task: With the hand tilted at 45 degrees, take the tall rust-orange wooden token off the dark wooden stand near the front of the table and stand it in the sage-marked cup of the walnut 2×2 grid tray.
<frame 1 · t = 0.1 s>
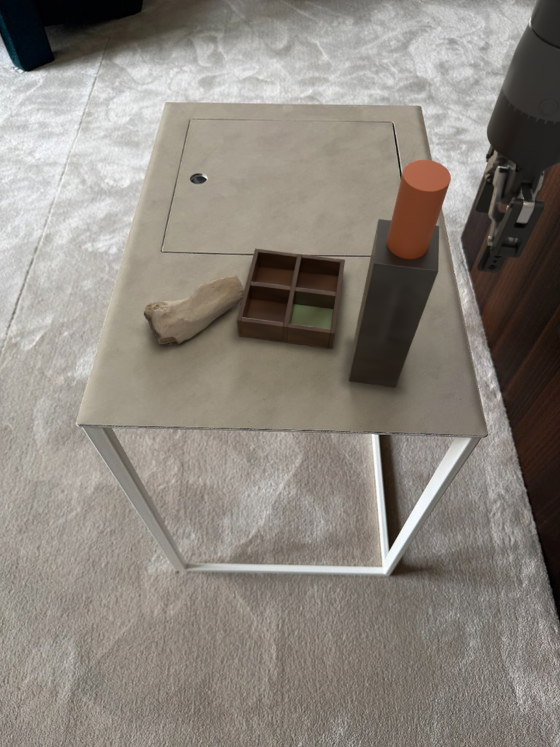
hand: (485, 238, 57), 19 cm above the table, tool pointing down, fingers open, 8 cm apart
grid: (292, 305, 76), on the table
bone fragment: (195, 316, 75), on the table
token: (407, 243, 52), point 22 cm above the table, touching stand
stand: (373, 364, 71), on the table
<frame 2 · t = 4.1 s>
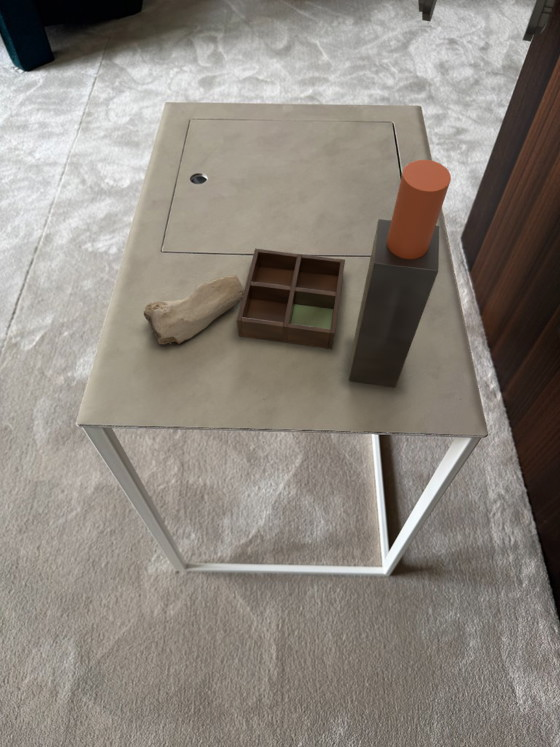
hand: (476, 27, 45), 36 cm above the table, tool tilted 45°, fingers open, 8 cm apart
nothing on the table moved.
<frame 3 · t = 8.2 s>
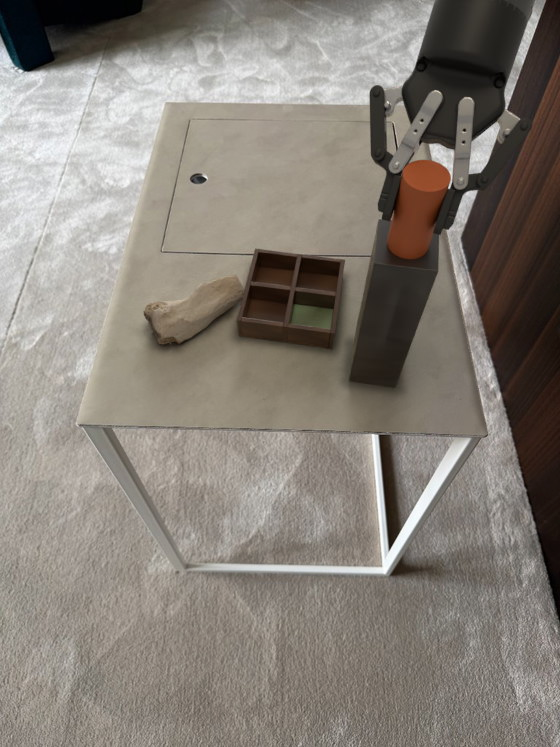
hand: (411, 226, 48), 26 cm above the table, tool tilted 45°, fingers closed on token, 4 cm apart
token: (407, 243, 52), point 22 cm above the table, touching gripper, stand
everything else where it was.
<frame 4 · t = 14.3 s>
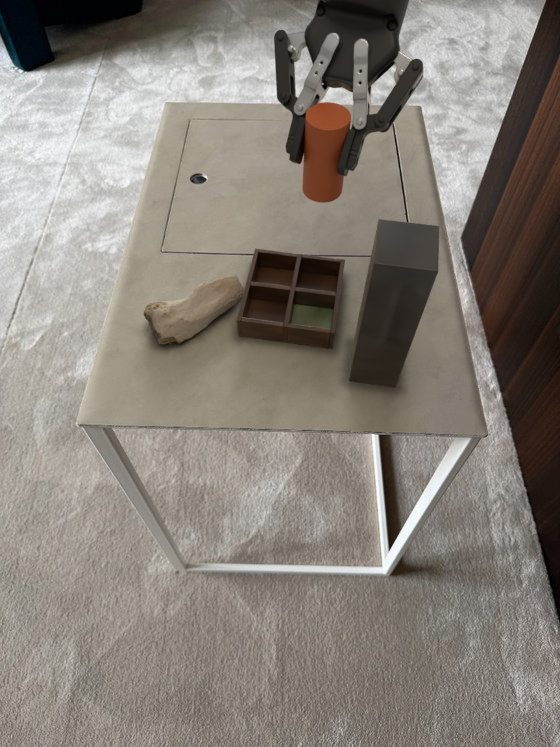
hand: (318, 167, 50), 27 cm above the table, tool tilted 45°, fingers closed on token, 4 cm apart
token: (322, 189, 55), point 23 cm above the table, touching gripper
everything else where it was.
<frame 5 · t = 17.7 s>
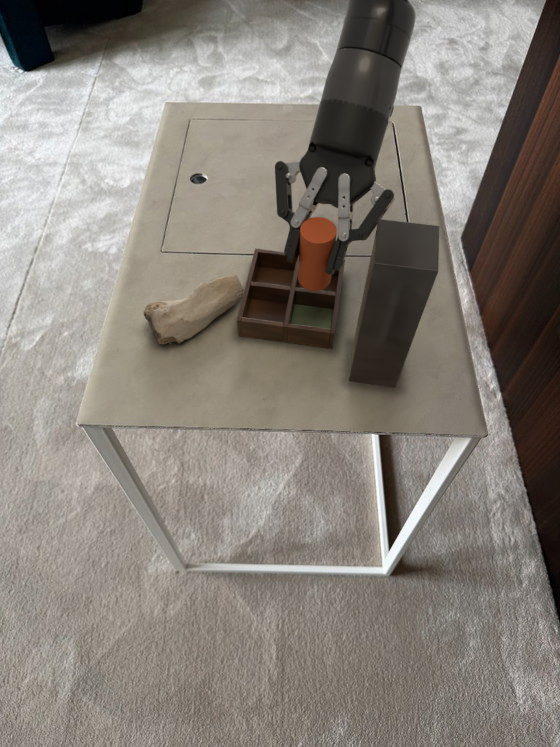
hand: (310, 267, 62), 14 cm above the table, tool tilted 45°, fingers closed on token, 4 cm apart
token: (314, 278, 66), point 10 cm above the table, touching gripper
everything else where it was.
when the fingers open (5 cm above the table, at t = 20.5 s): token stays where it is, resting on grid.
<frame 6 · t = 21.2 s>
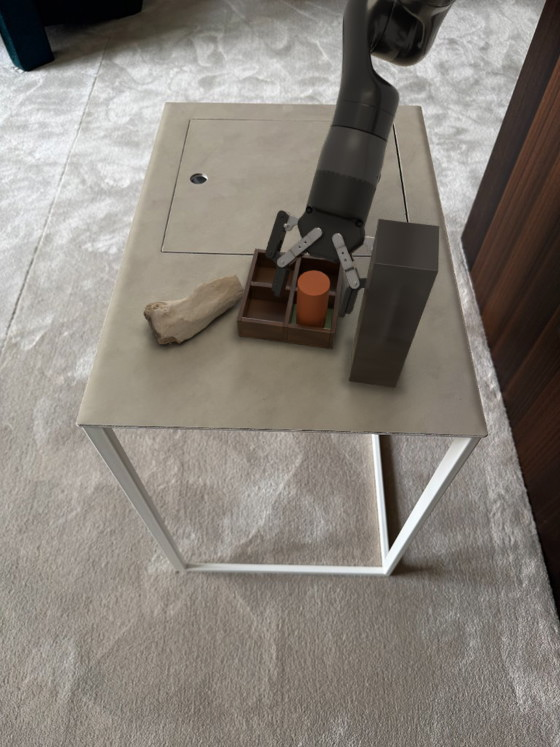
hand: (309, 306, 69), 6 cm above the table, tool tilted 45°, fingers open, 8 cm apart
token: (310, 321, 74), point 1 cm above the table, touching grid
everything else where it was.
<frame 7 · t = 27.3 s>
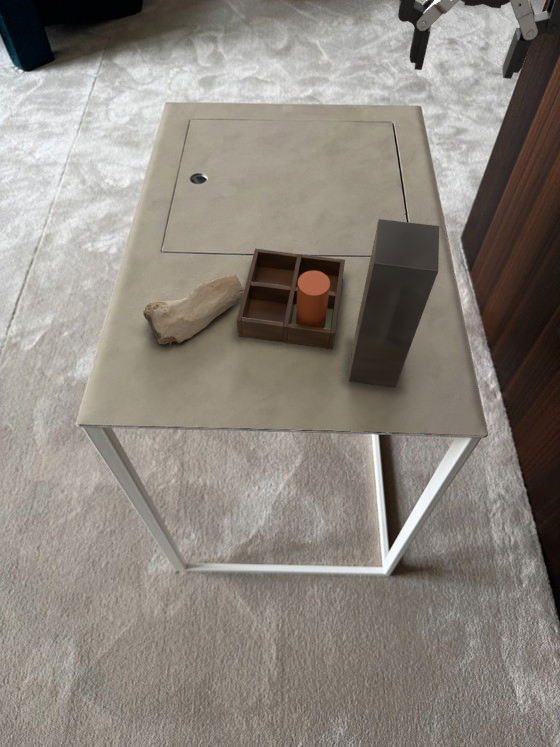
hand: (462, 69, 53), 30 cm above the table, tool pointing down, fingers open, 8 cm apart
nothing on the table moved.
at the end: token 0.1 cm from the target spot in the grid, point 0.8 cm above the grid's base; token tilted 0°; the gripper is holding nothing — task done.
